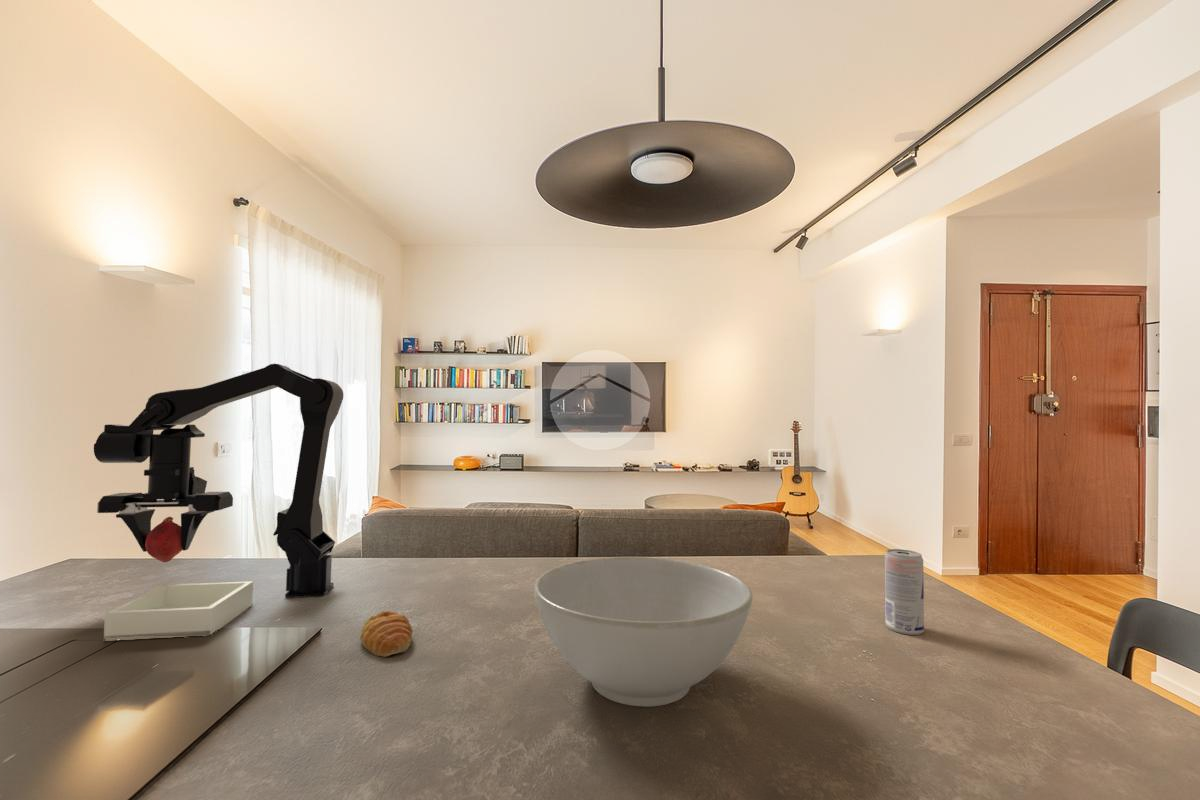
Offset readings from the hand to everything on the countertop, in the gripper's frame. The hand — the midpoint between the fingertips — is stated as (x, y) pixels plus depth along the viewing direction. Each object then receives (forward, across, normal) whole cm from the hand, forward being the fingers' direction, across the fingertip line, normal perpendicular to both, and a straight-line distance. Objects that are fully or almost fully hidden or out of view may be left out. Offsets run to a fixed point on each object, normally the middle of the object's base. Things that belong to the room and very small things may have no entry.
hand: (166, 550), depth 95 cm
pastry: (+9, -43, +26) cm, 51 cm away
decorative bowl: (+9, -76, +43) cm, 88 cm away
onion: (+2, 0, 0) cm, 2 cm away
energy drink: (+9, -122, +33) cm, 127 cm away
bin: (+8, -10, +13) cm, 18 cm away
